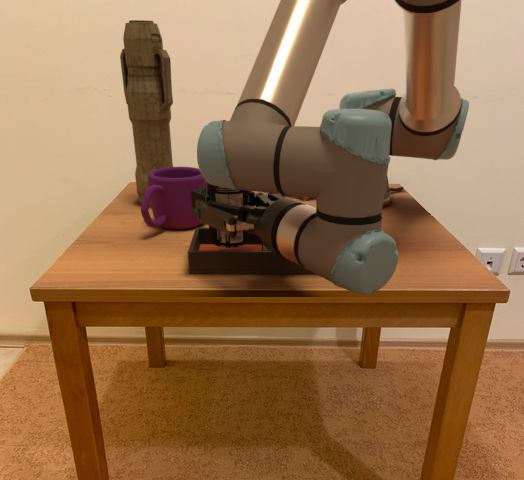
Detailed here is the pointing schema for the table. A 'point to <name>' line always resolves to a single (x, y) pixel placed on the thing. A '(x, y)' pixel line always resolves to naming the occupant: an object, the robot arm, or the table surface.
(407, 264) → the table surface
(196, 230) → the tray
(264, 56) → the robot arm
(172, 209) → the mug
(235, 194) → the beverage can
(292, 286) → the table surface
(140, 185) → the stone statue
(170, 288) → the table surface
